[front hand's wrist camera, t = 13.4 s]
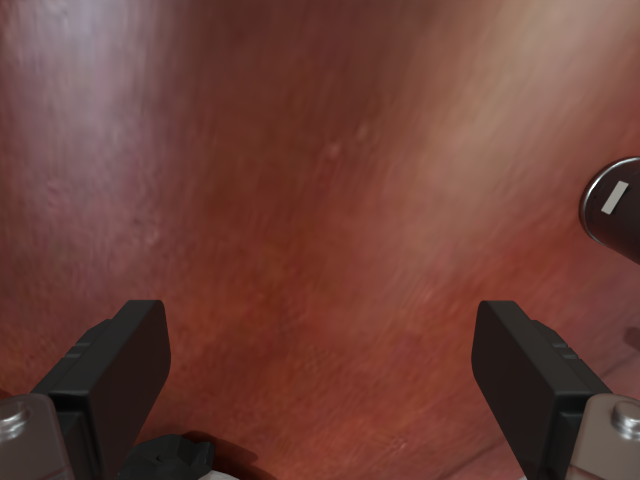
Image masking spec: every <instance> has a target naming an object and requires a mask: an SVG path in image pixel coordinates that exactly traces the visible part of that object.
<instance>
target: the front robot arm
mask: <svg viewBox="0 0 640 480" xmlns="http://www.w3.org/2000/svg"><path fill="white" fill-rule="evenodd" d="M579 218H580V222H581V225H582V227H583V229H584V231H585V232H586V233H587V234H588V235H589V236H590V237H591V238H592V239H594V240H595V241H597V242H599V243H600V244H602V245H605V246H607V247H610V248H611V249H613V250H615V251H616V252H618V253H619V254H621V255H623V256H625V257H626V258H628V259H630V260H632V261H633V262H635V263H637V264H639V265H640V156H633V157H626V158H622V159H619V160H617V161H614V162H612V163H610V164H609V165H607V166H605V167H604V168H603V169H601V170H600V171H599V172H598V173H597V174H596V175H595V176H594V177H593V178H592V179H591V180H590V182H589V183H588V185H587V186H586V188H585V190H584V192H583V194H582V197H581V200H580V205H579ZM471 361H472V370H473V374H474V377H475V380H476V382H477V384H478V385H479V387H480V389H481V391H482V393H483V395H484V397H485V399H486V401H487V403H488V405H489V407H490V409H491V410H492V412H493V414H494V416H495V418H496V420H497V422H498V424H499V426H500V428H501V430H502V432H503V434H504V435H505V437H506V439H507V441H508V443H509V445H510V447H511V449H512V451H513V453H514V455H515V457H516V459H517V460H518V462H519V464H520V466H521V468H522V470H523V472H524V474H525V476H526V478H527V480H640V400H637V399H635V398H631V397H628V396H624V395H619V394H614V393H613V392H612V391H611V390H610V389H609V388H608V387H607V386H606V385H605V384H604V383H603V382H602V381H601V380H600V379H599V377H598V376H597V375H596V374H595V373H594V372H593V371H592V370H591V369H590V368H589V367H588V366H587V365H586V364H585V363H584V361H583V360H582V359H579V358H578V355H577V354H576V353H575V352H574V351H573V350H572V349H571V348H570V347H568V344H567V343H566V342H565V341H564V340H563V339H562V338H561V337H560V336H559V335H558V334H557V333H556V332H555V331H554V330H552V329H550V328H549V327H547V326H545V325H544V324H542V323H540V322H539V321H537V320H530V318H529V317H528V316H527V315H526V314H525V313H524V312H523V310H522V309H521V308H520V307H519V306H518V305H517V304H516V303H515V302H514V301H481V302H480V304H479V307H478V311H477V318H476V326H475V333H474V340H473V347H472V355H471ZM170 364H171V352H170V344H169V337H168V330H167V322H166V315H165V308H164V305H163V303H162V301H161V300H129V301H128V302H127V303H126V304H125V305H124V306H123V307H122V308H121V309H120V311H119V312H118V313H117V314H116V315H115V316H114V317H113V319H106V320H104V321H103V322H101V323H99V324H98V325H96V326H94V327H93V328H91V329H89V330H88V331H87V332H86V333H85V334H84V335H83V336H82V337H81V338H80V339H79V340H78V341H77V342H76V344H75V346H73V347H72V348H71V349H70V350H69V351H68V352H67V353H66V354H65V358H62V359H61V360H60V361H59V362H58V363H57V364H56V365H55V366H54V367H53V368H52V369H51V370H50V372H49V373H48V374H47V375H46V376H45V377H44V378H43V379H42V380H41V381H40V382H39V383H38V384H37V386H36V387H35V388H34V389H33V390H32V391H31V392H30V393H29V394H21V395H16V396H12V397H9V398H5V399H3V400H0V480H115V479H116V477H117V475H118V473H119V471H120V469H121V467H122V465H123V463H124V461H125V459H126V457H127V455H128V453H129V452H130V450H131V448H132V446H133V444H134V442H135V440H136V438H137V436H138V434H139V432H140V430H141V428H142V426H143V424H144V422H145V420H146V418H147V416H148V415H149V413H150V411H151V409H152V407H153V405H154V403H155V401H156V399H157V397H158V395H159V393H160V391H161V389H162V387H163V385H164V383H165V381H166V379H167V377H168V374H169V370H170Z"/></svg>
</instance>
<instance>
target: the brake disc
mask: <svg viewBox="0 0 640 480" xmlns="http://www.w3.org/2000/svg"><path fill="white" fill-rule="evenodd" d="M214 451H215V445H213V444H212V443H210V442H200V443H197V444H194V443H193V442H192V441H190V440H189V439H185V438H183V437H182V436H181V435H175V434H169V435H164V436H161V437H158V438H155V439H152V440H149V441H146V442H143V443H140V444H138V445H136V446H134V447H133V448H131V450H130V452H129V453H128V455H127V457H126V459H125V461H124V463H123V465H122V467H121V469H120V471H119V473H118V475H117V477H116V479H115V480H239V479H237V478H234V477H232V476H230V475H228V474H224V473H220V472H217V471H213V470H212V464H213V458H214Z"/></svg>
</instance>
